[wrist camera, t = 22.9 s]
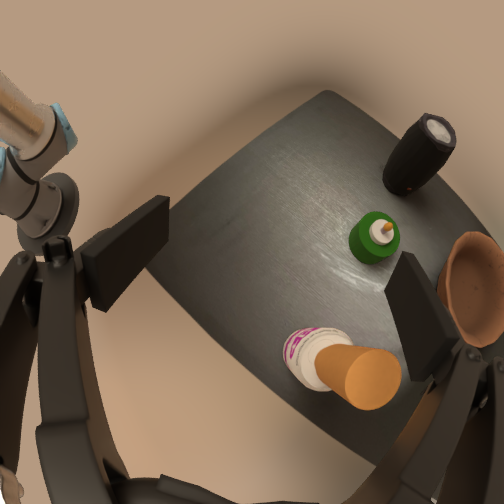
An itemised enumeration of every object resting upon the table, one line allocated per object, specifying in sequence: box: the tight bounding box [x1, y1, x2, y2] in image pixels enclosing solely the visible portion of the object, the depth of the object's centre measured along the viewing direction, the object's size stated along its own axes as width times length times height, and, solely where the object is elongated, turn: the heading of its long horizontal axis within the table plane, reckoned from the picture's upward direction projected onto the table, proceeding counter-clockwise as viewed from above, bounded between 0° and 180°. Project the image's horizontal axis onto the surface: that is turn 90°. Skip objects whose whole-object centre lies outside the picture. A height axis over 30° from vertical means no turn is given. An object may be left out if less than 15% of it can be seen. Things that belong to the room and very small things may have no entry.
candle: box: [349, 212, 400, 264], centre depth 44 cm, size 8×8×10 cm
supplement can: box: [283, 328, 354, 391], centre depth 37 cm, size 8×8×15 cm
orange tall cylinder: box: [314, 344, 401, 410], centre depth 23 cm, size 5×5×13 cm
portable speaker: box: [382, 113, 456, 196], centre depth 43 cm, size 9×9×20 cm
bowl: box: [437, 232, 504, 348], centre depth 40 cm, size 22×22×11 cm
